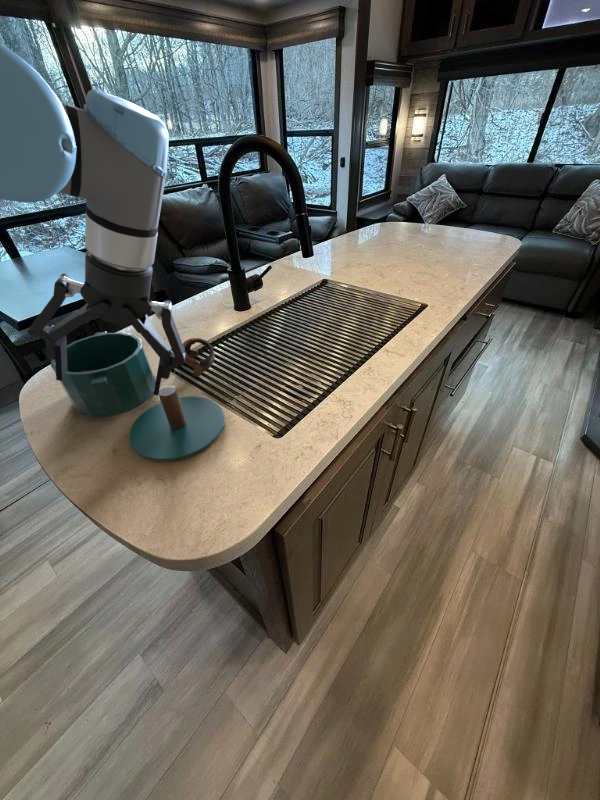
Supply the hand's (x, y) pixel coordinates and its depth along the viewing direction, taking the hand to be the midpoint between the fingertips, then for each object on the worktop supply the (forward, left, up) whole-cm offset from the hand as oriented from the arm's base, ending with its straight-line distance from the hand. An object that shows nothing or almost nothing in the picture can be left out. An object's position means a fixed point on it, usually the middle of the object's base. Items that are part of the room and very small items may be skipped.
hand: (111, 382), depth 54 cm
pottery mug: (+14, +21, -13) cm, 28 cm away
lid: (+8, 0, -12) cm, 15 cm away
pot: (-3, +18, -13) cm, 22 cm away
